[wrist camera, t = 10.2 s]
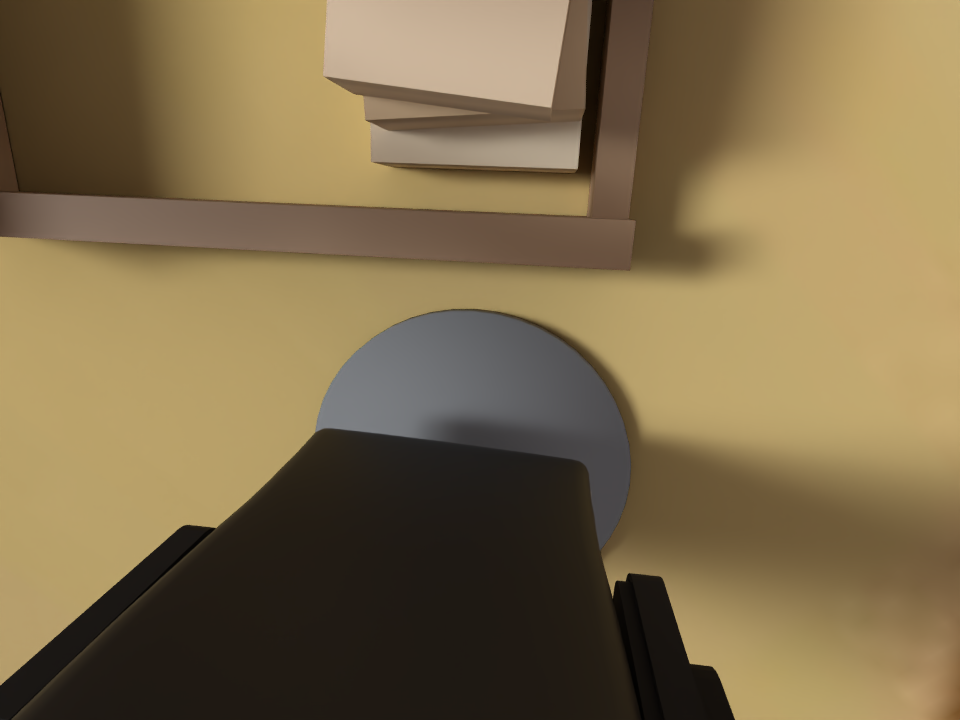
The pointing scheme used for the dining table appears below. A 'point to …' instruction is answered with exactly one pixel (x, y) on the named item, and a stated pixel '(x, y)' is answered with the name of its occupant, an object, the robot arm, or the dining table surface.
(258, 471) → the dining table surface
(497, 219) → the walnut rack
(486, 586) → the battery charger
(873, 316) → the dining table surface
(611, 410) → the felt coaster
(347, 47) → the offcut stack
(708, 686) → the robot arm
